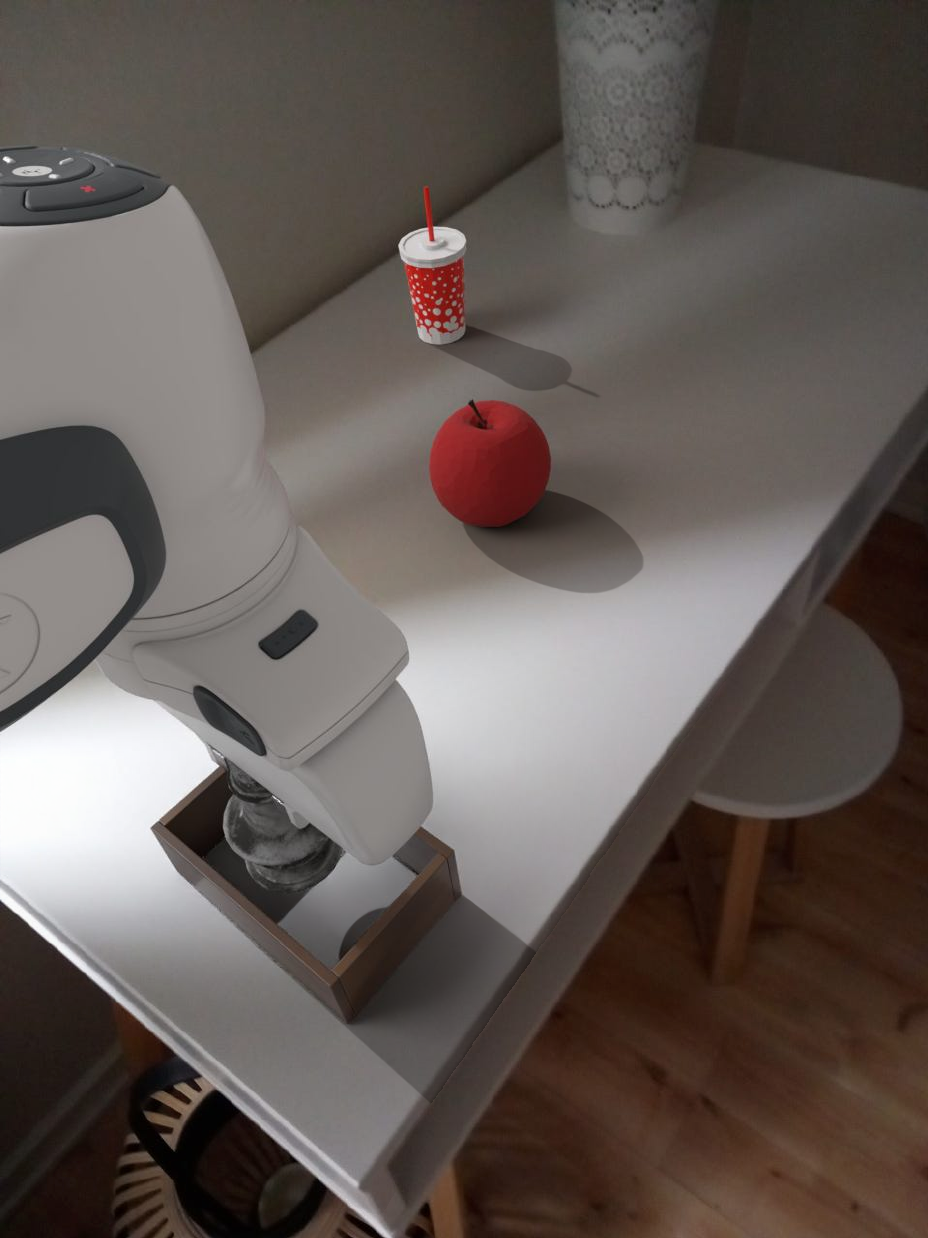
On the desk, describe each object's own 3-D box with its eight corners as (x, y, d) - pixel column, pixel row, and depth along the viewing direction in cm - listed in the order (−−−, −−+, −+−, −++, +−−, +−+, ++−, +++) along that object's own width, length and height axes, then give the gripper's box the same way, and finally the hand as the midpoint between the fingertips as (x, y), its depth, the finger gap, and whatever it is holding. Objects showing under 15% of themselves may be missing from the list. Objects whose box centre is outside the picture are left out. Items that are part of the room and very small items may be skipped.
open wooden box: (347, 1025, 50) (330, 987, 46) (176, 871, 57) (149, 827, 53) (462, 894, 55) (454, 850, 51) (290, 765, 61) (272, 718, 58)
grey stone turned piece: (363, 812, 53) (326, 672, 45) (325, 910, 50) (275, 778, 41) (266, 791, 55) (210, 652, 46) (221, 885, 51) (151, 752, 42)
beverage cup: (472, 347, 91) (460, 200, 81) (408, 350, 92) (388, 205, 82) (473, 312, 96) (462, 168, 85) (412, 316, 96) (393, 173, 86)
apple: (494, 564, 72) (486, 457, 64) (410, 513, 76) (393, 407, 69) (574, 500, 76) (575, 392, 69) (490, 455, 80) (482, 349, 73)
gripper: (-22, 526, 41) (92, 723, 51) (313, 775, 31) (372, 958, 41) (102, 450, 44) (186, 650, 54) (442, 655, 34) (467, 853, 44)
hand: (269, 785), depth 48 cm, fingers closed on grey stone turned piece, 3 cm apart
